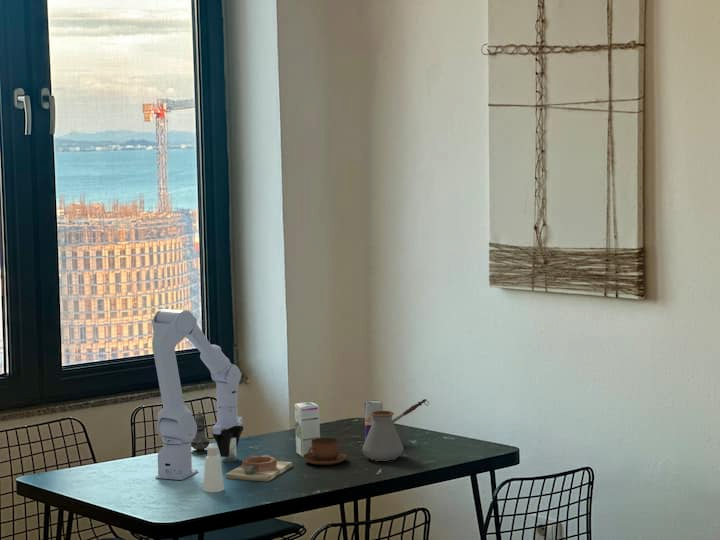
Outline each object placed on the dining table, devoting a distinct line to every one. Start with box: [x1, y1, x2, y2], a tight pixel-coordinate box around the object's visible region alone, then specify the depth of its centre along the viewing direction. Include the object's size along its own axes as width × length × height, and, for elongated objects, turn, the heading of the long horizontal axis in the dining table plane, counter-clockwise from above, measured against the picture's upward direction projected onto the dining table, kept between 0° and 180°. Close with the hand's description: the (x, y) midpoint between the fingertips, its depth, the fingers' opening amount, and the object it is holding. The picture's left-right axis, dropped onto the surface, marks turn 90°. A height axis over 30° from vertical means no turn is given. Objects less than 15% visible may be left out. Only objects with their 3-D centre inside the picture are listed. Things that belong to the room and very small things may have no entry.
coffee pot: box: [362, 398, 430, 462], centre depth 317 cm, size 21×12×15 cm, turn 123°
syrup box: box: [294, 401, 321, 458], centre depth 320 cm, size 6×6×14 cm
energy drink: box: [364, 399, 384, 441], centre depth 335 cm, size 5×5×12 cm
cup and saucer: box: [302, 437, 348, 466], centre depth 312 cm, size 12×12×6 cm
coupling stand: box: [225, 454, 293, 482], centre depth 302 cm, size 16×12×3 cm
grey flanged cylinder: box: [191, 411, 211, 456], centre depth 325 cm, size 6×6×12 cm
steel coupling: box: [220, 436, 238, 463], centre depth 316 cm, size 4×4×7 cm
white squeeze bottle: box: [202, 445, 225, 494], centre depth 285 cm, size 5×5×11 cm
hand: (228, 454), depth 316 cm, fingers closed on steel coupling, 4 cm apart
